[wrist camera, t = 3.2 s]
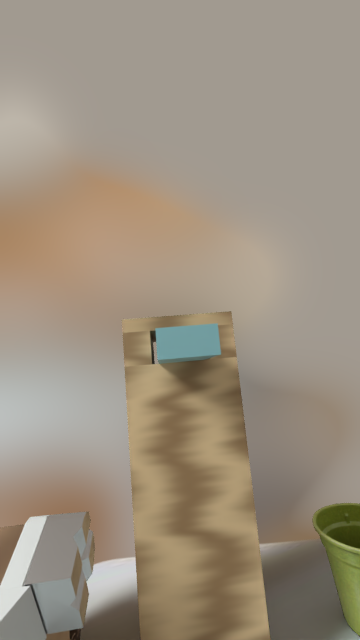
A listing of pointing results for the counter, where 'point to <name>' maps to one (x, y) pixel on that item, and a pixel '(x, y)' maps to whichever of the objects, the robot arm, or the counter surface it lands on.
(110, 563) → the counter surface
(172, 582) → the oak box
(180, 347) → the cover plate
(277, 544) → the counter surface
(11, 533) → the walnut step
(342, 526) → the plant pot
